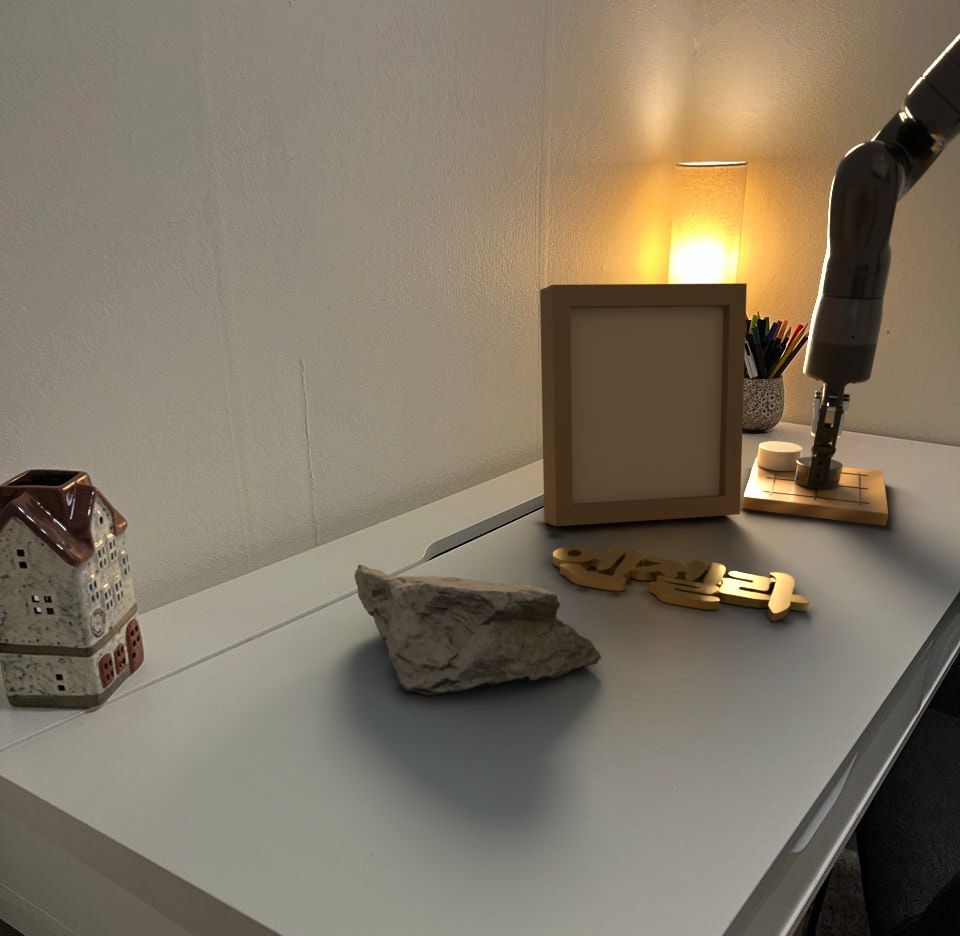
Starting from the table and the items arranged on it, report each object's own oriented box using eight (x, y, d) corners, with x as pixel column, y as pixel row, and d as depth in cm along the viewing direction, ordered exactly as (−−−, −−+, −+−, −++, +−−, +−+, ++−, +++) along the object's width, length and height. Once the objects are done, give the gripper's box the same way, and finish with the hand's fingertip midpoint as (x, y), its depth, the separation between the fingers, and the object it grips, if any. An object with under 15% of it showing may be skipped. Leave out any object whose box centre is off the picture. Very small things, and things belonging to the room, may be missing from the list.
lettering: (534, 579, 92) (534, 570, 92) (566, 545, 100) (567, 537, 100) (803, 626, 84) (804, 617, 83) (813, 585, 92) (815, 576, 92)
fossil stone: (619, 653, 78) (616, 537, 73) (515, 744, 67) (504, 614, 62) (423, 610, 89) (410, 507, 84) (307, 681, 78) (285, 567, 74)
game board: (881, 482, 124) (883, 470, 123) (885, 526, 109) (888, 512, 108) (754, 468, 128) (756, 457, 128) (741, 508, 113) (743, 495, 112)
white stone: (800, 462, 126) (803, 443, 125) (798, 473, 121) (801, 454, 120) (758, 457, 127) (761, 439, 126) (754, 468, 123) (757, 449, 122)
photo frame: (738, 522, 108) (773, 289, 97) (555, 534, 104) (569, 291, 93) (684, 484, 121) (708, 274, 110) (519, 493, 117) (527, 275, 105)
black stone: (839, 479, 119) (843, 459, 118) (839, 491, 115) (842, 471, 114) (794, 474, 121) (797, 454, 120) (792, 486, 116) (795, 465, 115)
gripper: (879, 349, 103) (849, 500, 110) (876, 330, 115) (848, 467, 123) (807, 343, 105) (781, 492, 113) (811, 325, 117) (788, 460, 125)
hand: (817, 478), depth 118 cm, fingers closed on black stone, 5 cm apart
